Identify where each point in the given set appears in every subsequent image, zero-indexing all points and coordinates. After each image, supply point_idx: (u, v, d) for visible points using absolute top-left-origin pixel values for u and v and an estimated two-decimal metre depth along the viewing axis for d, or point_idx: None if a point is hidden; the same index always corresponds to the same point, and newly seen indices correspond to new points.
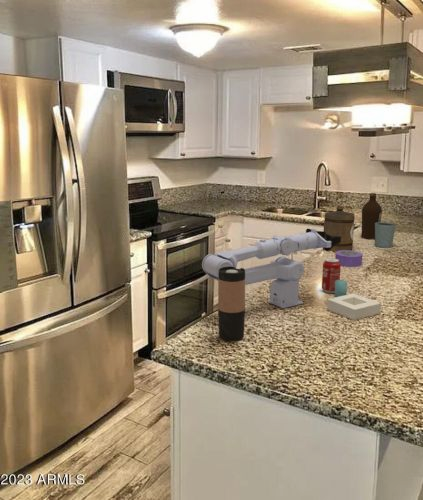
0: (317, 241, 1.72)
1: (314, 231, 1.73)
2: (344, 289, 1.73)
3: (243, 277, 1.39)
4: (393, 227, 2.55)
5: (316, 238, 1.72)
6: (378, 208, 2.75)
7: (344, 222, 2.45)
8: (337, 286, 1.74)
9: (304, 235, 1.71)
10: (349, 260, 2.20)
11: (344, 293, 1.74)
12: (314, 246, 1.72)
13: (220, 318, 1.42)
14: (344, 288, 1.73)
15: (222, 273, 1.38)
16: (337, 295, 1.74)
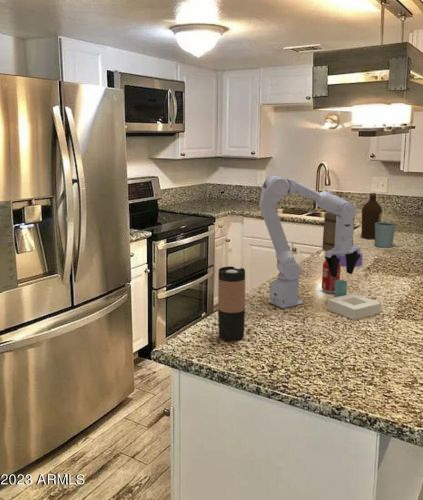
0: (337, 249, 1.70)
1: (348, 251, 1.69)
2: (344, 289, 1.73)
3: (243, 277, 1.39)
4: (393, 227, 2.55)
5: (340, 248, 1.69)
6: (378, 208, 2.75)
7: None
8: (337, 286, 1.74)
9: (352, 235, 1.70)
10: None
11: (344, 293, 1.74)
12: (335, 245, 1.72)
13: (220, 318, 1.42)
14: (344, 288, 1.73)
15: (222, 273, 1.38)
16: (337, 295, 1.74)
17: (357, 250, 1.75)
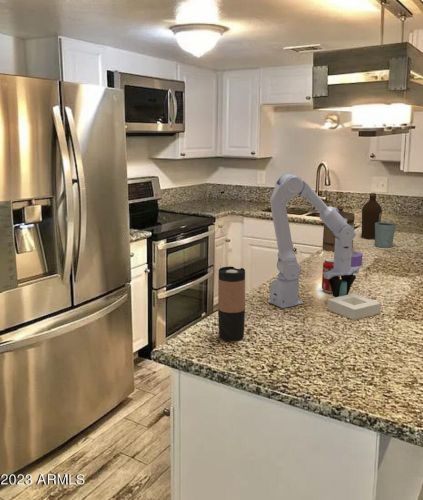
0: (336, 270, 1.72)
1: (347, 272, 1.71)
2: (344, 289, 1.73)
3: (243, 277, 1.39)
4: (393, 227, 2.55)
5: (339, 270, 1.71)
6: (378, 208, 2.75)
7: None
8: None
9: None
10: None
11: (344, 293, 1.74)
12: None
13: (220, 318, 1.42)
14: (344, 288, 1.73)
15: (222, 273, 1.38)
16: None
17: (356, 271, 1.76)
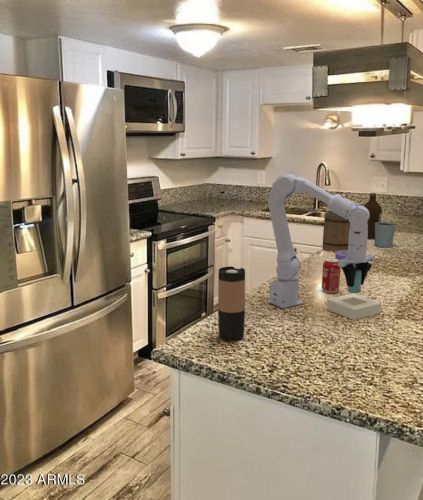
0: (351, 258, 1.60)
1: (363, 260, 1.59)
2: (358, 278, 1.62)
3: (243, 277, 1.39)
4: (393, 227, 2.55)
5: (354, 257, 1.59)
6: (378, 208, 2.75)
7: (344, 222, 2.45)
8: None
9: (365, 244, 1.59)
10: None
11: (358, 283, 1.62)
12: (348, 254, 1.62)
13: (220, 318, 1.42)
14: (358, 277, 1.61)
15: (222, 273, 1.38)
16: None
17: (371, 259, 1.64)
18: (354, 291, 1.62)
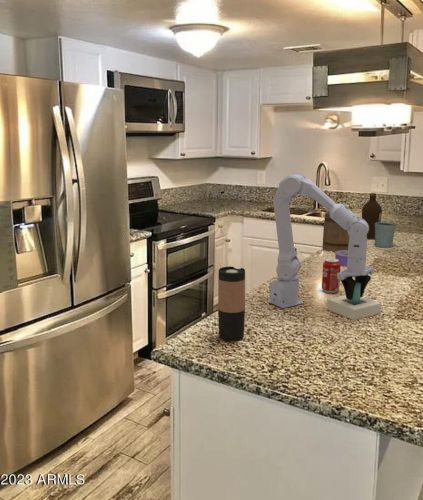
0: (350, 270, 1.61)
1: (362, 273, 1.60)
2: (357, 291, 1.62)
3: (243, 277, 1.39)
4: (393, 227, 2.55)
5: (353, 270, 1.60)
6: (378, 208, 2.75)
7: None
8: None
9: (364, 257, 1.59)
10: None
11: (357, 295, 1.63)
12: (347, 267, 1.62)
13: (220, 318, 1.42)
14: (357, 290, 1.62)
15: (222, 273, 1.38)
16: None
17: (370, 271, 1.65)
18: (353, 304, 1.63)
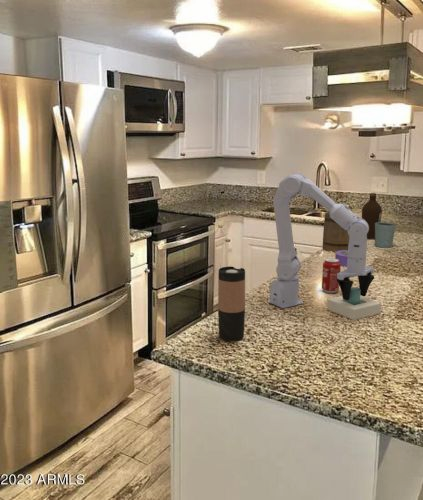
0: (350, 270, 1.61)
1: (362, 273, 1.60)
2: (357, 297, 1.63)
3: (243, 277, 1.39)
4: (393, 227, 2.55)
5: (353, 270, 1.60)
6: (378, 208, 2.75)
7: None
8: None
9: (364, 257, 1.59)
10: None
11: (357, 301, 1.63)
12: (347, 267, 1.62)
13: (220, 318, 1.42)
14: (357, 296, 1.63)
15: (222, 273, 1.38)
16: None
17: (371, 271, 1.65)
18: None
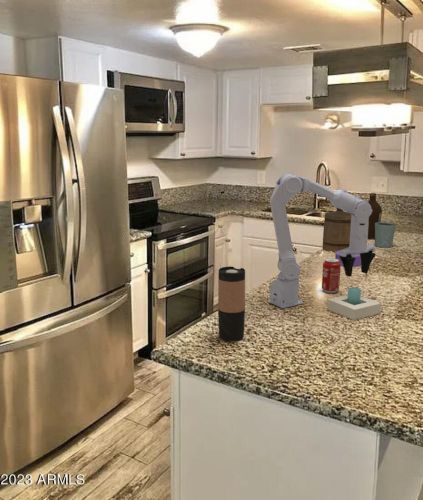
0: (352, 248, 1.69)
1: (364, 250, 1.68)
2: (357, 297, 1.63)
3: (243, 277, 1.39)
4: (393, 227, 2.55)
5: (355, 248, 1.68)
6: (378, 208, 2.75)
7: (344, 222, 2.45)
8: (350, 294, 1.63)
9: (367, 235, 1.68)
10: None
11: (357, 301, 1.63)
12: None
13: (220, 318, 1.42)
14: (357, 296, 1.63)
15: (222, 273, 1.38)
16: (350, 303, 1.64)
17: (372, 249, 1.73)
18: None
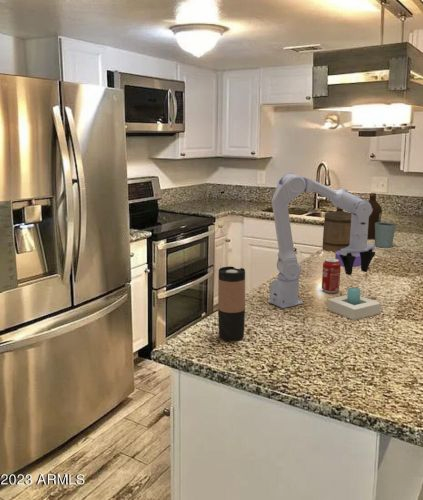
0: (352, 247, 1.71)
1: (364, 249, 1.70)
2: (357, 297, 1.63)
3: (243, 277, 1.39)
4: (393, 227, 2.55)
5: (355, 246, 1.70)
6: (378, 208, 2.75)
7: (344, 222, 2.45)
8: (349, 294, 1.63)
9: (367, 233, 1.71)
10: None
11: (357, 301, 1.63)
12: (350, 243, 1.72)
13: (220, 318, 1.42)
14: (357, 296, 1.63)
15: (222, 273, 1.38)
16: None
17: (372, 248, 1.75)
18: None
